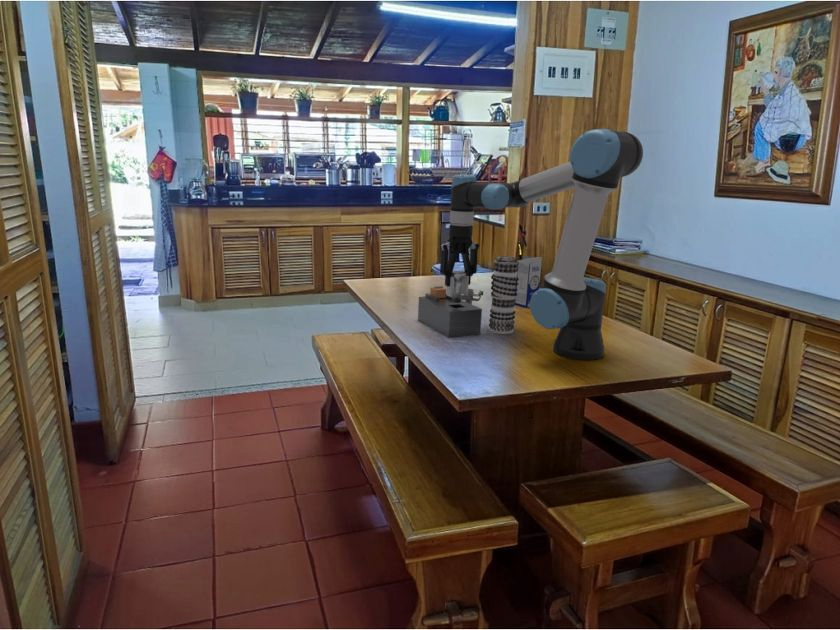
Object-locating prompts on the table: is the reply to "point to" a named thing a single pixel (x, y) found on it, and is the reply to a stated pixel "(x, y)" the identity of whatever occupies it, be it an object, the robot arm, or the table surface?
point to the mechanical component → (471, 296)
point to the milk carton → (527, 280)
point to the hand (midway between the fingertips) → (457, 295)
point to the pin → (457, 285)
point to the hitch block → (449, 316)
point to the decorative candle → (503, 295)
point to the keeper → (438, 292)
